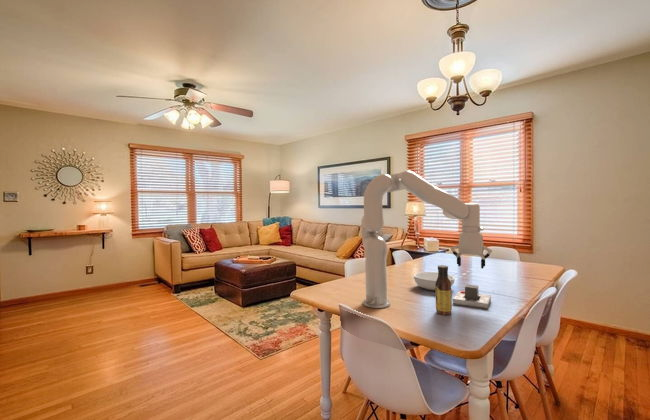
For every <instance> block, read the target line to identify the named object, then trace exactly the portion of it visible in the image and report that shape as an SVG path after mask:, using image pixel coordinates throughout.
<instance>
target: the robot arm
mask: <svg viewBox="0 0 650 420" xmlns="http://www.w3.org/2000/svg"><path fill="white" fill-rule="evenodd" d="M403 190H405V191H407V192H408V193H410V194H412V196H415V197H416V198H417V199H419V200H420V201H422V202H423V203H426V204H429V205H432V206H435V207H436V208H437V207H438V208H440V209H442V214H443V215H444V217H446V218H447V219H451V220H461V232H460V233H459V238H458V243H457V245H454V246H452V247H450V250H451V252H452V254H453V255H454V256H455V258H456V264H457V266H458V267H461V265H462V257H461V256H462V255H471V256H472V255H473V256H479V257H480V258H481V260H480V269H484V268H485V267H486V259H487V258H489V257H490V255H491V254H492V252H493V250H492V249H490V248H488V247H487V246H485V245H484V239H483V234H482V232H483V231H484V227H481V225H480V224H481V219H480V218H481V214H480V211H481V210H480V209H481V208H480V207H481V206H480V204H479V203H476V202H469V203H467V202H466V203H465V202H463V201H462V200H460V199H459V198H457V197H456V196H455V195H453V194H450V193H448V192H447V191H445V190H443V189H441V188H439V187H437V186H435V185H433V184H432V183H430V182H428V180H426V179H424V178H423V177H422V176H420V175H418V174H417V173H415V172H414V171H412V170H408V169H407V170H404V171H401V172H398V173H393V174H387V173H381V174H379V175H377V176H375V177H373V179H371V180H370V182H369V183H368V184H367V186H366V188H365V190H364V193H363V216H362V218H361V223H360V224H361V238H362V246H363V249H364V250H365V267H364V268H365V299H363V300H362V305H363V306H364V307H367V308H372V309H384V308H388V307H390V306H391V301H390V299H388V296H387V295H388V293H387V292H388V288H387V285H388V283H387V257H388V256H387V255H388V245H387V242H386V241H385V239H384V238H383V237H382V229H383V228H384V224H385V222H384V212H383V211H384V210H383V199H384V196H385V194H386V193H392V192H398V191H403ZM456 249H458V252H457V251H456ZM484 251H486V252H487V253H486V254H484Z"/></svg>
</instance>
